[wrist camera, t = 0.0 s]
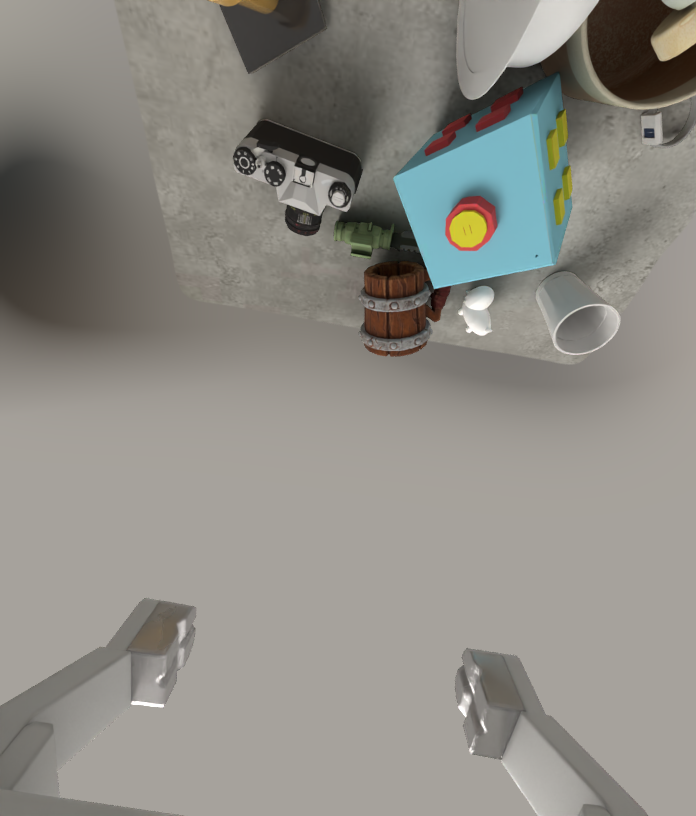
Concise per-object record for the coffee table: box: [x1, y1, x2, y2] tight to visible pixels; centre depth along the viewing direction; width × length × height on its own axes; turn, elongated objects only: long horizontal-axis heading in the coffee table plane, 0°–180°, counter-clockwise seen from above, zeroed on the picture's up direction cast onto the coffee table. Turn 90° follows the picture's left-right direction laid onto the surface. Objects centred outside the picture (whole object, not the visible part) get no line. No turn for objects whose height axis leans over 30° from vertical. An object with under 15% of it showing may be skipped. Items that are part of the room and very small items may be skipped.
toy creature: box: [458, 286, 494, 335], centre depth 57 cm, size 5×8×6 cm
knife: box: [334, 220, 420, 259], centre depth 52 cm, size 4×18×5 cm
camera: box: [233, 119, 363, 236], centre depth 46 cm, size 15×11×10 cm
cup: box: [536, 271, 620, 355], centre depth 52 cm, size 8×8×12 cm
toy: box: [393, 72, 572, 289], centre depth 40 cm, size 15×16×15 cm
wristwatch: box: [641, 95, 696, 148], centre depth 41 cm, size 6×3×5 cm
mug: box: [359, 261, 451, 356], centre depth 56 cm, size 12×14×15 cm
